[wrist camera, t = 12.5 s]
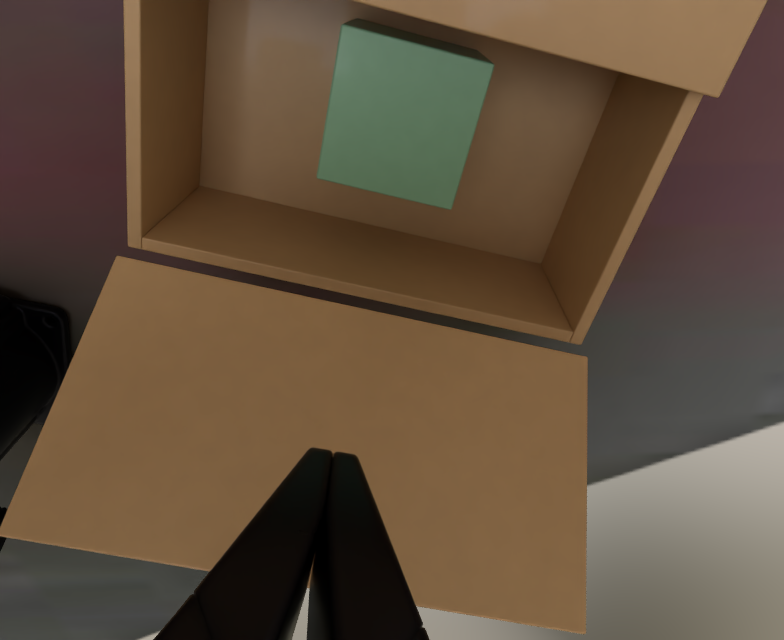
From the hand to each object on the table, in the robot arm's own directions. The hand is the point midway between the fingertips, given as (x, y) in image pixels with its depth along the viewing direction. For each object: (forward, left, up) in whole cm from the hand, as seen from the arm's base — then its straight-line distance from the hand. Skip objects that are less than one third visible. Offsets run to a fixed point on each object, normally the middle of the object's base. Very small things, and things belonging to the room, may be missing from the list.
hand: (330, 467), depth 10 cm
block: (+4, 0, -12) cm, 13 cm away
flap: (-3, 0, -4) cm, 4 cm away
